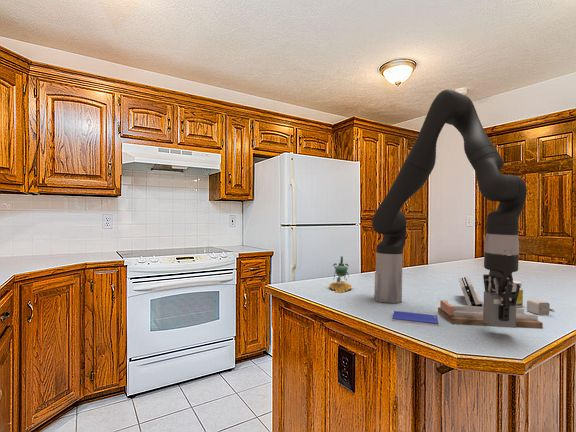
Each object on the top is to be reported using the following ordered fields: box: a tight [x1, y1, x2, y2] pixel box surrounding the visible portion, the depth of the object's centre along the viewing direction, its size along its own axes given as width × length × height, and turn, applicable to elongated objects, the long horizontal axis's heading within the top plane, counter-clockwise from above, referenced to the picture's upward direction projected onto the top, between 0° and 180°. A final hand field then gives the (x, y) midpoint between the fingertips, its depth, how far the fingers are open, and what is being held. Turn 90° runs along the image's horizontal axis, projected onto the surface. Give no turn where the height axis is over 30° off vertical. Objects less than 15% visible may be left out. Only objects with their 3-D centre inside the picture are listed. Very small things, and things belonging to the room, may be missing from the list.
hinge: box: [457, 275, 484, 307], centre depth 123 cm, size 17×5×10 cm, turn 156°
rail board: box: [437, 299, 544, 329], centre depth 100 cm, size 24×12×4 cm, turn 84°
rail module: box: [483, 290, 517, 329], centre depth 87 cm, size 6×4×9 cm
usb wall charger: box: [526, 298, 555, 316], centre depth 107 cm, size 4×7×4 cm, turn 8°
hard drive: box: [391, 310, 440, 327], centre depth 99 cm, size 2×8×12 cm
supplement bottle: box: [513, 280, 524, 308], centre depth 117 cm, size 5×5×8 cm
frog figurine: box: [328, 255, 353, 294], centre depth 140 cm, size 10×18×15 cm, turn 164°
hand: (499, 317), depth 87 cm, fingers closed on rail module, 4 cm apart
